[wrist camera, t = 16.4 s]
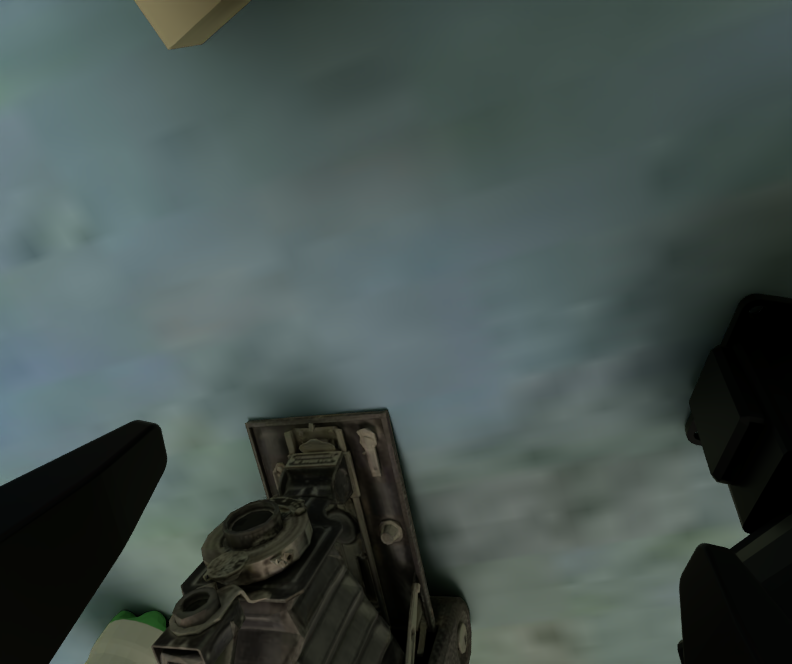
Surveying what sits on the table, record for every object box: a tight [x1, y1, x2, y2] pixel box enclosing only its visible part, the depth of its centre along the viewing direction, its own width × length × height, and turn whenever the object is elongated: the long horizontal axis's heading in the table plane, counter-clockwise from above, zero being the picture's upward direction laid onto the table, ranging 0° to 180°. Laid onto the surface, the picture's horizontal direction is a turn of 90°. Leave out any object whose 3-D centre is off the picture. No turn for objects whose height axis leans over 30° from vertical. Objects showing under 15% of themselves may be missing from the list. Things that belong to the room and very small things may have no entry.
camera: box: [151, 410, 471, 664], centre depth 23 cm, size 11×17×20 cm, turn 15°
